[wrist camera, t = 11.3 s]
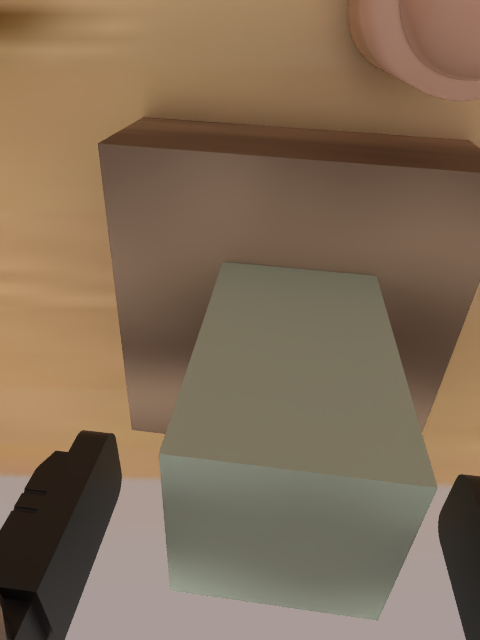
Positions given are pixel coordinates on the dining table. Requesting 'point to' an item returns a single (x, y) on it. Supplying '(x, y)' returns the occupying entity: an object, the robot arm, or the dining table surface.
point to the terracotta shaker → (422, 43)
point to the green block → (294, 447)
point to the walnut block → (285, 235)
